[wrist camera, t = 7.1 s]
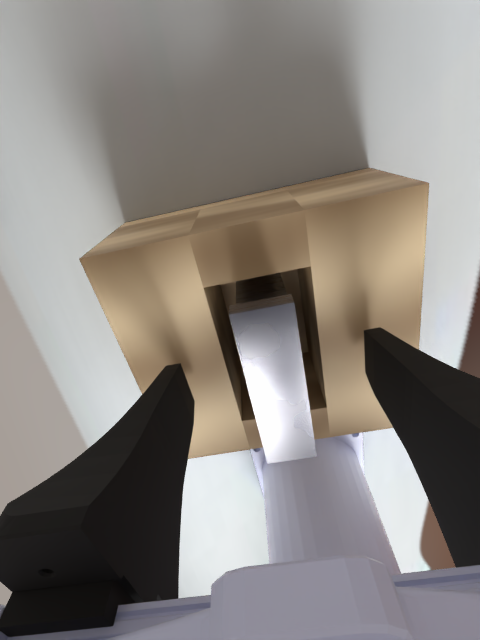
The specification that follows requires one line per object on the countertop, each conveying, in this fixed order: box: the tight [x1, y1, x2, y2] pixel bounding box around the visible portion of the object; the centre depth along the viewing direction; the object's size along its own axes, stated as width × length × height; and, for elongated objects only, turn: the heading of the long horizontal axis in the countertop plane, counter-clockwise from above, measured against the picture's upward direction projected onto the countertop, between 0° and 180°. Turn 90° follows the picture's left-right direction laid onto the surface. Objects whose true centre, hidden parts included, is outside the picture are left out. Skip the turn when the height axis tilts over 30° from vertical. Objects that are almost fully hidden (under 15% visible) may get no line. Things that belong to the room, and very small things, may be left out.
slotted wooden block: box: [79, 168, 429, 459], centre depth 16 cm, size 11×12×6 cm
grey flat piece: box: [229, 273, 317, 464], centre depth 15 cm, size 7×2×7 cm, turn 12°
